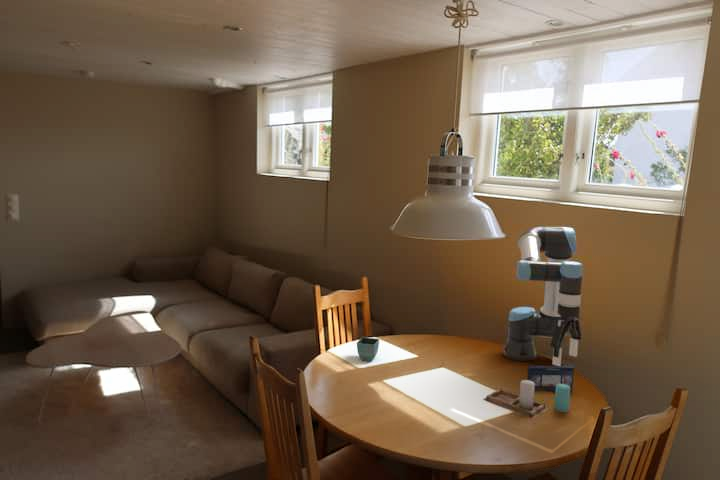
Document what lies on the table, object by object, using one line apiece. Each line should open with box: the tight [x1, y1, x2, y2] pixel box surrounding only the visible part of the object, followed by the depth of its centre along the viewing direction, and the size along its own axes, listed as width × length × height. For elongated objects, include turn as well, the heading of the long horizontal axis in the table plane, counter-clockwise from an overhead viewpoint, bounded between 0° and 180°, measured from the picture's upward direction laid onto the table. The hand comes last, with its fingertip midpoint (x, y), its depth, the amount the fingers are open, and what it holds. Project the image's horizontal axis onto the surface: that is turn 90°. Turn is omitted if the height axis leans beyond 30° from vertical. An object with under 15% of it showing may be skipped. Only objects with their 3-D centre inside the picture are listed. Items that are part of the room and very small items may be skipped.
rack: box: [482, 388, 550, 420], centre depth 197 cm, size 12×21×2 cm, turn 44°
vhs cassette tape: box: [526, 365, 575, 392], centre depth 211 cm, size 18×3×10 cm, turn 90°
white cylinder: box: [519, 379, 535, 411], centre depth 193 cm, size 5×5×10 cm
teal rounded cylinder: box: [553, 384, 571, 413], centre depth 193 cm, size 5×5×10 cm
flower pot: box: [356, 336, 380, 362], centre depth 242 cm, size 9×9×9 cm
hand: (564, 360), depth 190 cm, fingers open, 13 cm apart
